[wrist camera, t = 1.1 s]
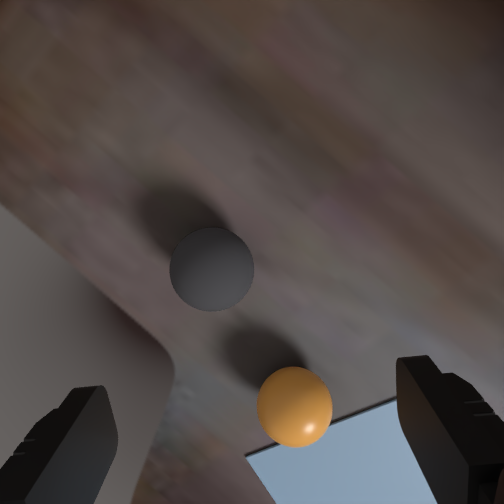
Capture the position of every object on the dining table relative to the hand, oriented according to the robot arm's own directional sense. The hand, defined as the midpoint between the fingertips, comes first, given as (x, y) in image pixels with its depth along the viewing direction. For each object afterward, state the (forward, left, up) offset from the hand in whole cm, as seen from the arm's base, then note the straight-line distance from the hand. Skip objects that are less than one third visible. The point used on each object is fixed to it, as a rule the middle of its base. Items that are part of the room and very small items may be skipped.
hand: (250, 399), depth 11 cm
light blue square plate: (+4, +24, -18) cm, 30 cm away
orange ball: (+4, +12, -15) cm, 20 cm away
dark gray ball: (+4, 0, -15) cm, 15 cm away
